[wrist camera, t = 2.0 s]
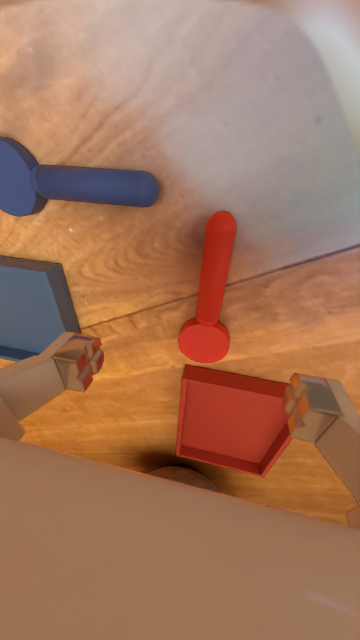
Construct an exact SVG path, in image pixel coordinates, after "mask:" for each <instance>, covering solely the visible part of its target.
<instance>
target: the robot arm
mask: <svg viewBox="0 0 360 640" xmlns="http://www.w3.org/2000/svg"><path fill="white" fill-rule="evenodd" d="M101 345H102V344H101V340H100V338H98V337H94V336H89V335H84V334H79V333H73V332H68V331H66V332H63V333H62V334H61V335H60V336H59V337H58V338H57V339H56V340H55V341H53V342H52V343H51V344H50V345H49V346H48V347H47V348H46V349H45V350H44V351H43V352H42V353H41V354H39V355H38V356H37V355H34V356H31V357H29V358H26V359H24V360H21V361H19V362H16V363H14V364H11V365H9V366H6V367H4V368H1V369H0V640H360V417H359V415H358V413H357V411H356V410H355V408H354V406H353V404H352V402H351V400H350V399H349V397H348V395H347V393H346V391H345V389H344V387H343V386H342V384H341V382H340V381H338V380H336V379H330V378H324V377H323V378H322V377H317V376H311V375H306V374H300V373H294V374H293V375H292V376H291V378H290V381H291V384H290V385H288V386H286V387H285V390H284V392H283V397H282V401H283V408H284V410H285V412H286V413H287V414H288V415H289V417H288V418H287V420H286V421H287V425H288V429H289V434H290V437H291V438H295V439H299V440H303V441H307V442H312V443H315V444H314V445H315V446H316V447H317V449H318V450H319V451H320V453H321V454H322V455H323V457H324V458H325V459H326V461H327V462H328V463H329V465H330V466H331V467H332V469H333V470H334V471H335V473H336V474H337V475H338V477H339V478H340V479H341V481H342V482H343V484H344V485H345V486H346V488H347V489H348V490H349V492H350V493H351V494H352V496H353V497H354V498H355V500H356V501H357V502H358V504H359V505H358V506H356V507H354V508H352V509H351V510H349V511H348V512H347V513H346V517H347V520H348V523H349V526H350V527H349V526H345V525H341V524H337V523H333V522H329V521H326V520H322V519H318V518H314V517H310V516H306V515H303V514H299V513H295V512H291V511H287V510H283V509H279V508H276V507H272V506H268V505H264V504H260V503H256V502H253V501H249V500H245V499H241V498H237V497H233V496H229V495H226V494H222V493H218V492H214V491H210V490H206V489H203V488H199V487H195V486H191V485H187V484H183V483H179V482H176V481H172V480H168V479H164V478H160V477H156V476H153V475H149V474H145V473H141V472H137V471H133V470H129V469H126V468H122V467H118V466H114V465H110V464H106V463H102V462H99V461H95V460H91V459H87V458H83V457H79V456H76V455H72V454H68V453H64V452H60V451H56V450H52V449H49V448H45V447H41V446H37V445H33V444H29V443H25V442H22V441H19V440H20V439H21V437H22V436H23V435H24V434H25V430H24V428H23V427H22V425H21V424H20V423H19V421H20V420H22V419H23V418H25V417H26V416H28V415H29V414H31V413H32V412H34V411H35V410H37V409H38V408H40V407H41V406H43V405H44V404H46V403H47V402H49V401H50V400H52V399H53V398H55V397H56V396H58V395H59V394H61V393H62V392H64V391H65V390H66V389H68V390H73V391H79V392H84V393H85V391H86V390H87V388H88V387H89V385H90V384H91V382H92V381H93V377H92V375H94V374H96V373H98V372H99V370H100V369H101V367H102V364H103V361H104V354H103V351H102V350H101V349H100V348H99V347H100V346H101Z"/></svg>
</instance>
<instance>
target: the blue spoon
mask: <svg viewBox="0 0 360 640" xmlns="http://www.w3.org/2000/svg"><path fill="white" fill-rule="evenodd" d="M158 196H159V186H158V183H157V181H156V179H155V178H154V177H153V176H152V175H151V174H150V173H148V172H144V171H132V170H117V169H102V168H87V167H71V166H56V165H38V163H37V161H36V160H35V159H34V157H33V156H32V155H31V154H30V152H29V151H28V150H27V149H26V148H25V147H23V146H22V145H21V144H20V143H18V142H16V141H15V140H13V139H10V138H7V137H1V136H0V209H1V210H3V211H4V212H6V213H8V214H10V215H14V216H27V215H32V214H36V213H38V212H40V211H41V210H42V209H43V207H44V206H45V203H46V200H47V199H55V200H66V201H77V202H89V203H100V204H111V205H122V206H133V207H150V206H152V205H153V204H154V203H155V202H156V201H157V198H158Z"/></svg>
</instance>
